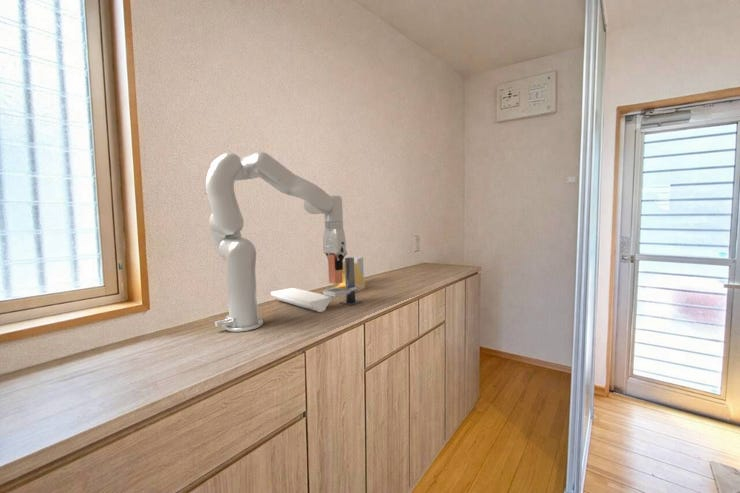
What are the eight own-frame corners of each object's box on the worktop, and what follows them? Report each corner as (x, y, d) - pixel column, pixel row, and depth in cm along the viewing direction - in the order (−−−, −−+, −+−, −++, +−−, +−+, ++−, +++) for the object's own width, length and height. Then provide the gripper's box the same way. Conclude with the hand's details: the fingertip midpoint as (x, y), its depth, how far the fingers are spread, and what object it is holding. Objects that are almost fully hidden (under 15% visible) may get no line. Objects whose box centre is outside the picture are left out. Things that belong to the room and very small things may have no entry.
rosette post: (335, 310, 138) (334, 261, 136) (323, 307, 143) (321, 260, 141) (365, 302, 150) (363, 257, 148) (352, 299, 155) (351, 256, 153)
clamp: (344, 296, 162) (343, 263, 160) (328, 294, 166) (327, 262, 165) (365, 288, 179) (364, 258, 178) (350, 287, 184) (349, 257, 182)
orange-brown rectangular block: (335, 284, 139) (333, 255, 138) (329, 282, 142) (327, 254, 141) (342, 282, 142) (341, 254, 141) (336, 281, 145) (335, 253, 144)
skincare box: (354, 283, 192) (353, 256, 191) (364, 284, 190) (363, 256, 188) (347, 286, 184) (346, 258, 183) (358, 287, 182) (357, 258, 181)
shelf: (292, 298, 162) (292, 287, 161) (332, 309, 141) (332, 296, 140) (271, 303, 154) (270, 291, 153) (310, 315, 133) (309, 302, 132)
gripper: (314, 226, 143) (316, 268, 145) (340, 226, 132) (342, 272, 133) (328, 225, 149) (330, 266, 150) (354, 225, 137) (356, 269, 139)
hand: (335, 268), depth 142 cm, fingers closed on orange-brown rectangular block, 4 cm apart
